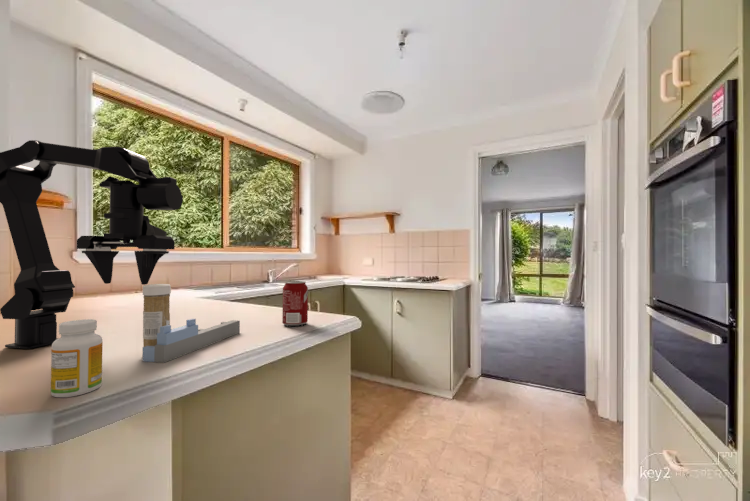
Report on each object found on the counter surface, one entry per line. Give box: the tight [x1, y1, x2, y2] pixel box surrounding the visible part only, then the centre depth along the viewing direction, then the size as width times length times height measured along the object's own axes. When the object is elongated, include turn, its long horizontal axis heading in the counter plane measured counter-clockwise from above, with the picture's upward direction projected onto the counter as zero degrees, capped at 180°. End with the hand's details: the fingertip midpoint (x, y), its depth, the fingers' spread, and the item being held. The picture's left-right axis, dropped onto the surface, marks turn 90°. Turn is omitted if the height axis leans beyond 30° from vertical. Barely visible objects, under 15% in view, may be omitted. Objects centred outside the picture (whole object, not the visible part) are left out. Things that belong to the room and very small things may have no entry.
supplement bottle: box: [50, 318, 103, 398], centre depth 46 cm, size 5×5×10 cm
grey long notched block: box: [141, 318, 241, 364], centre depth 70 cm, size 4×23×6 cm, turn 170°
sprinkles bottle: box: [142, 283, 172, 348], centre depth 64 cm, size 5×5×14 cm
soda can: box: [281, 280, 309, 327], centre depth 91 cm, size 7×7×12 cm
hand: (125, 283), depth 69 cm, fingers open, 9 cm apart
